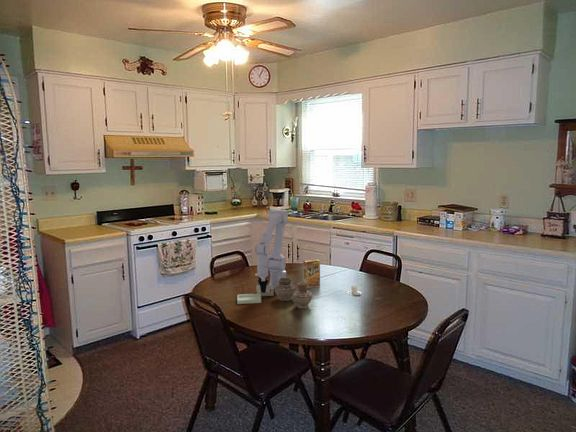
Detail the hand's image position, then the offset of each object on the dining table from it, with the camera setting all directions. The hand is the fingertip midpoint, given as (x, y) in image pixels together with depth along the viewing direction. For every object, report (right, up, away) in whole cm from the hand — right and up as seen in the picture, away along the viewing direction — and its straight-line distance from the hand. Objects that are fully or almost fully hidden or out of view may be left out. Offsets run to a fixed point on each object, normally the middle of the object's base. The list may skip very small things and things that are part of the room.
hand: (263, 290), depth 231 cm
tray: (-7, -4, -9) cm, 12 cm away
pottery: (+16, -4, -13) cm, 21 cm away
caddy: (0, -2, 0) cm, 2 cm away
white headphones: (+47, -3, -2) cm, 47 cm away
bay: (0, -2, 0) cm, 2 cm away
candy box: (+27, 0, +12) cm, 30 cm away
